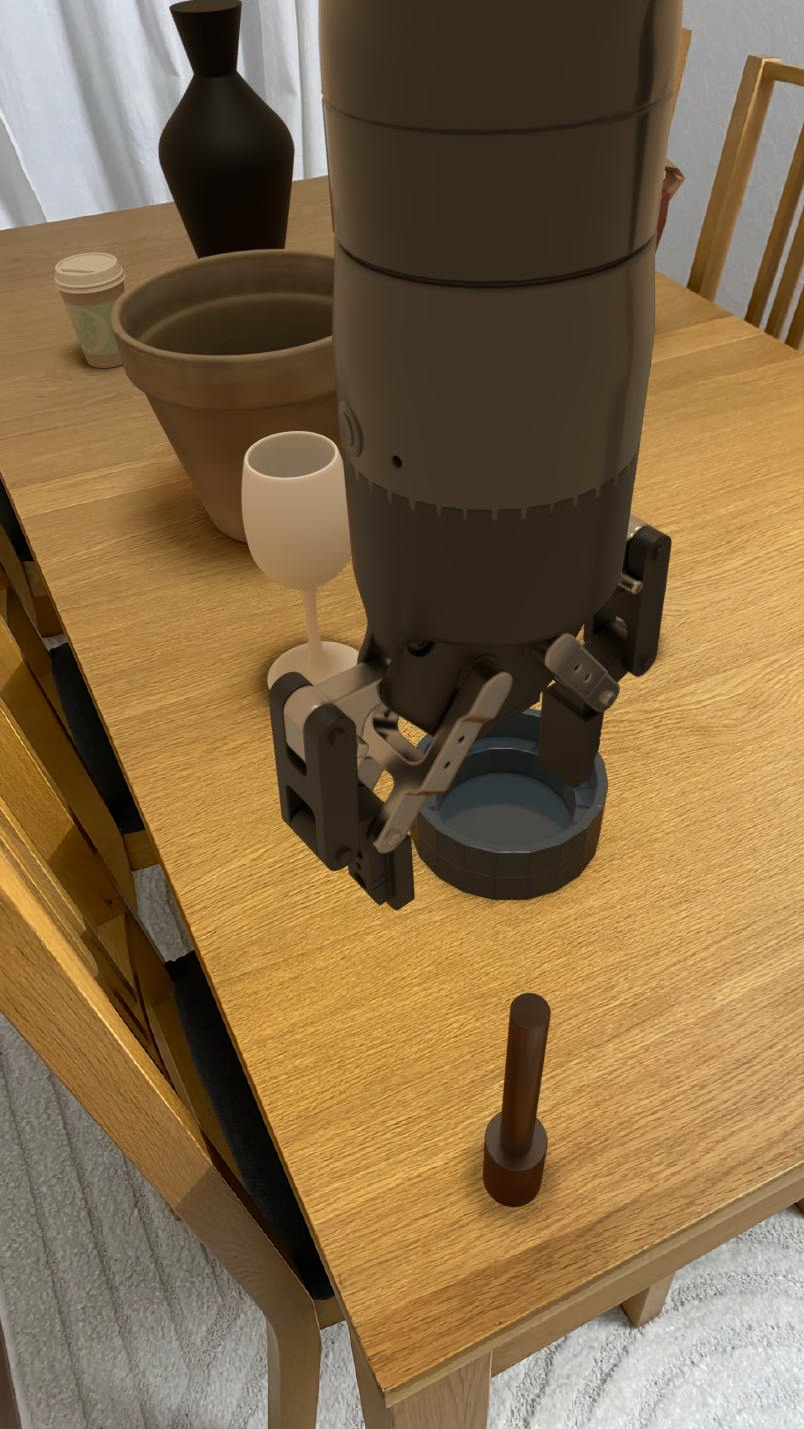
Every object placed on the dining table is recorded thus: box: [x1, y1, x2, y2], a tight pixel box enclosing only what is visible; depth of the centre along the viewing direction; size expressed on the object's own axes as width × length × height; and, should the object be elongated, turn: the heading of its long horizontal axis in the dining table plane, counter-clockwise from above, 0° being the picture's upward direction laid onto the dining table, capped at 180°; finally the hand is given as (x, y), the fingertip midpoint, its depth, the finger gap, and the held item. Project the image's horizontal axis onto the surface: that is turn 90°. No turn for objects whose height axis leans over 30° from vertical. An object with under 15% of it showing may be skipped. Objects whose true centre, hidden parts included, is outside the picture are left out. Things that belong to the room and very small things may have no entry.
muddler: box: [482, 992, 552, 1208], centre depth 48 cm, size 3×3×18 cm
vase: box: [157, 0, 296, 259], centre depth 127 cm, size 17×17×35 cm
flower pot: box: [110, 248, 343, 544], centre depth 95 cm, size 25×25×22 cm
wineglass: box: [242, 431, 359, 690], centre depth 76 cm, size 9×9×21 cm
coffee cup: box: [53, 252, 126, 369], centre depth 125 cm, size 8×9×12 cm
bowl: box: [409, 707, 609, 901], centre depth 69 cm, size 13×13×6 cm
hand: (480, 827), depth 36 cm, fingers open, 8 cm apart
